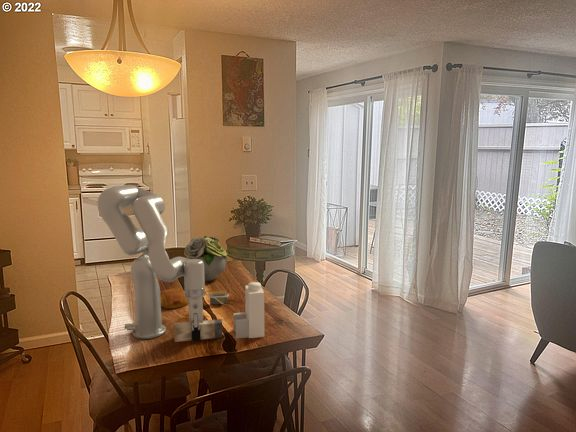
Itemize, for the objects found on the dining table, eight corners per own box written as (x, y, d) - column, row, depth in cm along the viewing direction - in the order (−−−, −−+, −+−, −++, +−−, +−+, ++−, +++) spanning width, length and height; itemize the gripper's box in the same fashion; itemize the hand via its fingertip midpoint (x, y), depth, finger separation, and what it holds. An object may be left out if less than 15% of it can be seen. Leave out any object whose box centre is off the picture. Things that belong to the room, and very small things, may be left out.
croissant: (155, 305, 202) (152, 290, 200) (187, 296, 207) (185, 281, 206) (159, 315, 189) (155, 299, 187) (193, 306, 194) (190, 289, 193)
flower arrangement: (175, 282, 230) (174, 238, 226) (201, 270, 252) (200, 230, 249) (214, 288, 220) (213, 243, 216) (237, 275, 243) (237, 234, 239)
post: (236, 339, 161) (235, 289, 158) (233, 328, 171) (232, 281, 167) (264, 336, 164) (264, 287, 160) (260, 326, 173) (259, 279, 170)
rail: (174, 341, 159) (174, 326, 158) (174, 337, 162) (174, 323, 161) (222, 337, 163) (222, 322, 162) (221, 333, 166) (221, 319, 165)
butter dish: (238, 308, 193) (238, 295, 192) (198, 311, 190) (198, 297, 189) (237, 299, 205) (237, 286, 204) (199, 301, 202) (199, 288, 201)
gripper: (205, 298, 152) (206, 345, 155) (203, 284, 168) (205, 327, 171) (184, 300, 151) (186, 347, 153) (184, 285, 167) (186, 328, 169)
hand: (196, 336), depth 162 cm, fingers open, 4 cm apart
